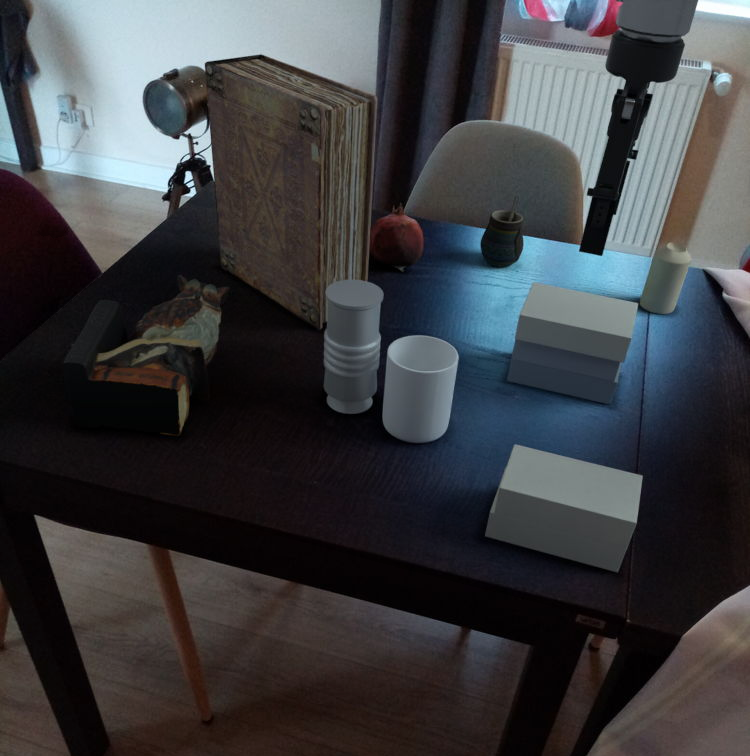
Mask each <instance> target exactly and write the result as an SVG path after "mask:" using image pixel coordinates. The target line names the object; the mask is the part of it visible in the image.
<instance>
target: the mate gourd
mask: <svg viewBox="0 0 750 756" xmlns="http://www.w3.org/2000/svg"><path fill="white" fill-rule="evenodd" d="M519 199H520V197H518V196H514V200H513V203H512V207H511V210H505V209H501V210H500V209H499V210H495V211H493V212H491V214H489V215H490V216H489V220H488V221H489V222H488V224H487V226H486V228H485V230H484V232H483V234H482V236H481V238H480V245H479V246H480V251H481V252H480V253H481V256H482V258H483V259H484V261H485V262H486V263H487V264H489V265H491V266H494V267H497V268H507V267H510V266H512V265H514V264H515V263H517V262H518V261H519V260H520V257H521V256H522V253H523V250H524V243H525V242H524V234H523V226H524V219H525V218H524V217H523V216H522V214H520V213H518V212H515V210H516V208H517V204H518V202H519Z"/></svg>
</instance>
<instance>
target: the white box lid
mask: <svg viewBox="0 0 750 756" xmlns="http://www.w3.org/2000/svg"><path fill="white" fill-rule="evenodd" d="M638 306H639V302H635V301H630V300H624V299H619V298H614V297H609V296H605V295H600V294H595V293H589V292H585V291H578V290H575V289H569V288H564V287H560V286H555V285H549V284H546V283H540V282H535V281H533V282H532V285H531V287H530V289H529V291H528V294H527V296H526V298H525V301H524V303H523V306H522V308H521V310H520V311H519V315H518V320H517V325H516V330H515V335H514V340H515V339H518V340H522V341H527V342H531V343H536V344H540V345H545V346H550V347H554V348H559V349H563V350H568V351H573V352H577V353H582V354H586V355H591V356H595V357H600V358H605V359H609V360H614V361H618V362H621V363H622V364H623V363H625V361H626V358H627V354H628V352H629V348H630V345H631V342H632V339H633V333H634V328H635V323H636V318H637V313H638Z"/></svg>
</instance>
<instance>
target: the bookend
mask: <svg viewBox="0 0 750 756" xmlns="http://www.w3.org/2000/svg"><path fill="white" fill-rule="evenodd" d="M176 279H177V281H176V282H177V287H178V289H179V293H178V294H177V295H176V296H175V297H174V298H173V299H172V300H168V301H165V302H161V303H160V304H158V305H155V306H153V307H151V309H150V310H149V311H148V312H146V313H145V314H144V315H143V316H142V318H141V319H140V320H138V322H136V324H135V327H134V329H133V333H132V335H131V336H130V341H129V337H128V334H127V327H126V324H125V319H124V316H123V315H124V314H123V311H122V307H121V304H120V303H119V302H118V301H116V300H107V299H105V300H104V299H101V300H99V301H98V302H97V303H96V304H95V306H94V307H93V309H92V311H91V313H90V315H89V316H88V319H87V321H85V322H86V323H85V324H84V327H83V329H82V330H81V332H80V334H79V335H78V336H77V338H76V340H75V342H74V343H73V345H72V346H71V348H70V349H69V351H68V353H67V355H66V356H65V358H64V361H63V362H62V365H61V368H62V372H63V377H64V381H65V383H66V388H67V391H68V397H69V400H70V404H71V409H72V411H73V415H74V418H75V422H76V426H77V427H78V428H96V429H98V428H100V427H101V426H102V427H103V426H104V427H111V428H118V429H126V430H133V431H141V432H149V433H156V434H161V435H167V436H174V437H177V436H180V435H181V434H182V430H183V427H184V425H185V423H187V422H188V419H189V415H190V414H189V412H190V398H195V399H202V400H203V399H204V400H209V399H210V397H211V390H210V384H209V383H210V382H209V375H208V369H207V368H208V367H209V366H210V365H212V362H213V359H214V357H215V356H216V354H217V351H218V345H217V343H218V341H219V334H220V327H219V325H220V324H221V322H222V321H221V320H222V318H221V317H222V309H221V305H223V304H224V303H225V302H226V300H227V298H228V296H229V292H230V286H221V287H216V286H215V285H214V284H212V283H209V284H207V283H204V282H200V281H199V280H198V279H196V278H193V279H190V280H189V281H188V279H187V278H186V277H184V276H183V275H182V274H178V275H177V277H176Z"/></svg>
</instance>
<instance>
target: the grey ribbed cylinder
mask: <svg viewBox="0 0 750 756" xmlns="http://www.w3.org/2000/svg"><path fill="white" fill-rule="evenodd" d="M384 294H385V293H384V291H383V289H382V288H381V287H380V286H378V285H376V284H375V283H373V282H370V281H368V280H367V281H362V280H342V281H338V282H334V283H332V284H331V285H329V286H328V287H327V288H326V291H325V295H326V299H327V322H326V328H325V330H324V334H323V339H324V340H323V341H324V342H323V348H324V349H323V367H324V368H325V370H324V379H323V389H324V391H325V393H326V394H327V397H326V403H327V405H328V406H329V407H330V408H331V409H332V410H334V411H335V412H338V413H342V414H348V415H354V414H355V415H356V414H361V413H364V412H366V411H368V410H369V409H370V408H371V407H372V405H373V401H374V400H373V398H372V397H373V396H375V394H376V393H377V391H378V389H377V388H378V377H377V376H378V373H377V371H378V369H379V367H380V357H381V356H380V355H381V352H380V351H381V340H382V335H381V333H380V320H381V319H380V318H381V304H382V302H383V301H384Z"/></svg>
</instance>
